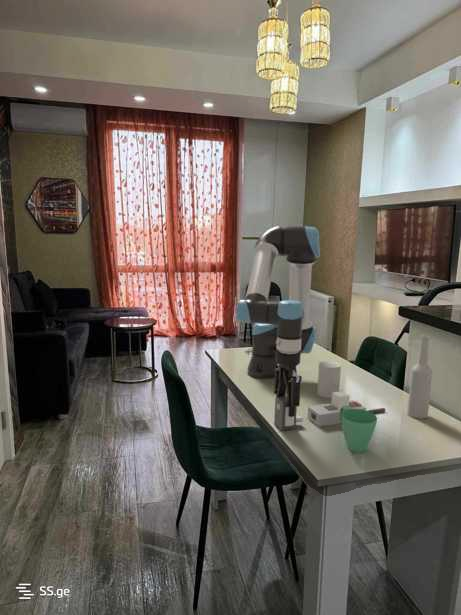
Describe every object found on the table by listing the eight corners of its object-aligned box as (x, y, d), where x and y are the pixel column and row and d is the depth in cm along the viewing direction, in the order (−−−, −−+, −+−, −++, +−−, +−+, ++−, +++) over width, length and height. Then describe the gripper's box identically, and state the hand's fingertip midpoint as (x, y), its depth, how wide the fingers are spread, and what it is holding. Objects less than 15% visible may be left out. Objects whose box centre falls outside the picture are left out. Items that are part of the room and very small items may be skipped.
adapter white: (331, 405, 143) (332, 392, 142) (341, 403, 144) (342, 391, 143) (338, 409, 139) (339, 396, 138) (348, 408, 140) (349, 395, 140)
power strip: (307, 417, 142) (308, 404, 141) (378, 407, 152) (379, 395, 151) (318, 426, 136) (319, 413, 135) (391, 415, 146) (393, 402, 145)
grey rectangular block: (273, 423, 136) (275, 397, 135) (296, 420, 139) (298, 394, 138) (281, 430, 132) (282, 403, 130) (304, 427, 135) (305, 400, 133)
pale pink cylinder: (339, 399, 159) (341, 368, 157) (317, 397, 161) (319, 366, 159) (338, 391, 167) (340, 362, 165) (317, 389, 169) (319, 360, 167)
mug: (381, 455, 118) (384, 422, 117) (348, 458, 116) (351, 424, 115) (355, 431, 133) (358, 401, 131) (326, 434, 131) (328, 403, 129)
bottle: (407, 409, 151) (415, 332, 146) (428, 413, 148) (436, 335, 143) (406, 416, 145) (414, 336, 140) (427, 420, 142) (436, 339, 137)
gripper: (264, 344, 138) (262, 411, 142) (291, 359, 121) (288, 435, 125) (285, 342, 140) (282, 408, 144) (314, 357, 124) (310, 432, 128)
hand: (285, 421), depth 135 cm, fingers closed on grey rectangular block, 5 cm apart
